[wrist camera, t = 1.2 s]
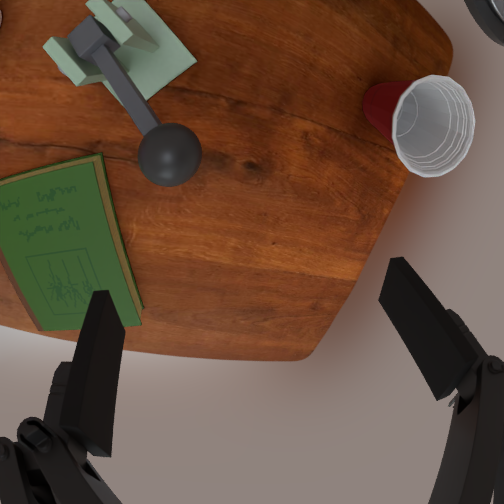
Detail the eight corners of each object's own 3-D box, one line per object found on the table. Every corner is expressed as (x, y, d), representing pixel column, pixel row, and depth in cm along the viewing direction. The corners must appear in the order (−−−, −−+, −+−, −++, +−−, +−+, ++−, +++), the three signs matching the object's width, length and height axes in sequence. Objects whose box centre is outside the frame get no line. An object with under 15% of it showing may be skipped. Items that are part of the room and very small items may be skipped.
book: (-12, 183, 30) (-26, 194, 27) (102, 152, 32) (92, 161, 29) (46, 318, 44) (40, 334, 41) (145, 311, 46) (143, 328, 43)
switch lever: (220, 162, 18) (204, 156, 14) (174, 198, 19) (148, 201, 15) (118, 23, 17) (93, 3, 13) (82, 55, 17) (54, 40, 14)
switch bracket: (197, 61, 28) (195, 55, 16) (132, 112, 30) (90, 145, 18) (133, -11, 22) (93, -55, 10) (71, 43, 24) (-1, 39, 12)
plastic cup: (325, 95, 32) (376, 113, 23) (387, 50, 30) (452, 56, 20) (369, 161, 38) (422, 200, 28) (424, 117, 35) (485, 143, 25)
